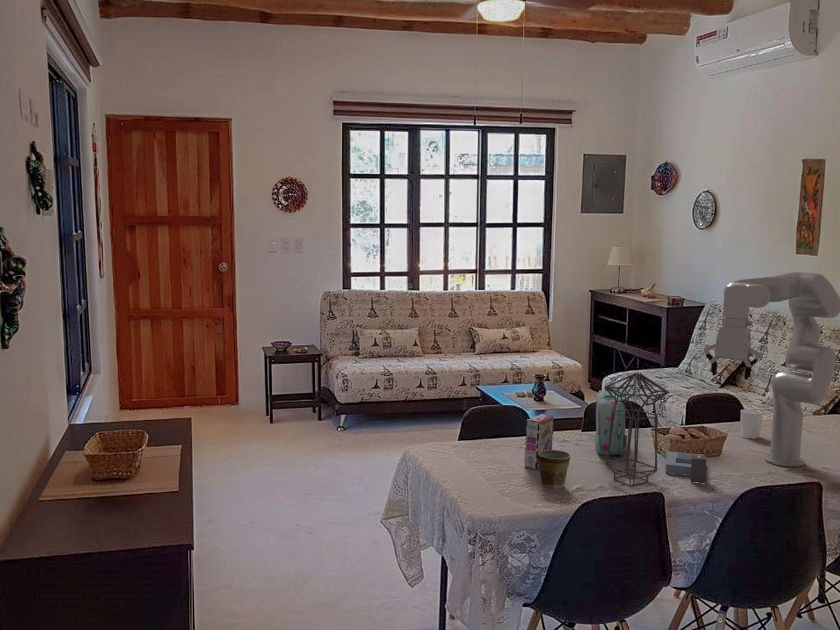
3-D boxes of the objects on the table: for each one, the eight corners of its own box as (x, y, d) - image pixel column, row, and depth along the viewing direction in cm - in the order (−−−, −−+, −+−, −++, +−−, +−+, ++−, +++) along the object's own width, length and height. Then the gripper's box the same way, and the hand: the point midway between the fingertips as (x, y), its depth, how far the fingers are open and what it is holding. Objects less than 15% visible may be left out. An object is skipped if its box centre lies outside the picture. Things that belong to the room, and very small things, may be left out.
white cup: (735, 434, 318) (736, 409, 317) (754, 433, 319) (756, 408, 318) (745, 439, 311) (747, 414, 309) (765, 439, 311) (766, 413, 310)
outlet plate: (666, 459, 283) (667, 450, 283) (703, 463, 280) (703, 454, 279) (665, 473, 268) (665, 463, 268) (703, 477, 265) (704, 467, 264)
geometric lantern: (595, 477, 263) (601, 370, 260) (632, 471, 271) (637, 367, 267) (630, 491, 250) (637, 378, 246) (667, 484, 257) (674, 375, 254)
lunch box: (626, 460, 281) (629, 400, 279) (596, 459, 283) (599, 398, 280) (621, 440, 307) (623, 384, 305) (593, 438, 309) (595, 383, 306)
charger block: (690, 478, 263) (691, 454, 262) (704, 480, 262) (706, 455, 261) (690, 482, 259) (691, 457, 258) (705, 484, 258) (706, 459, 257)
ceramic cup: (574, 489, 251) (576, 457, 250) (545, 491, 248) (546, 460, 247) (556, 476, 264) (557, 446, 262) (527, 478, 261) (528, 448, 260)
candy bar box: (537, 470, 269) (539, 422, 267) (524, 467, 272) (525, 419, 270) (552, 462, 278) (554, 415, 276) (539, 459, 281) (541, 413, 279)
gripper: (766, 325, 255) (761, 379, 257) (708, 320, 264) (704, 372, 266) (761, 327, 248) (757, 382, 250) (703, 321, 257) (699, 375, 259)
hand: (730, 377), depth 258 cm, fingers open, 9 cm apart
